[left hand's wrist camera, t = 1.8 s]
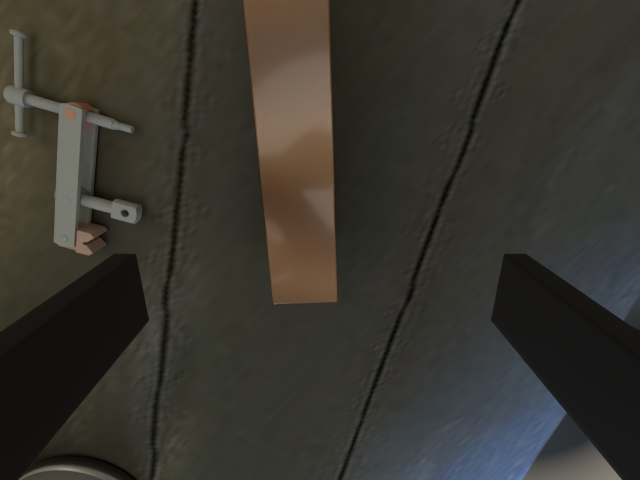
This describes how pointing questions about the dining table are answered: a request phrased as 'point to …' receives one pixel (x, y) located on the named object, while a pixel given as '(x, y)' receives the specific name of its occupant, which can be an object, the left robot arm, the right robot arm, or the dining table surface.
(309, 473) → the dining table surface
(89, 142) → the clamp
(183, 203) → the dining table surface
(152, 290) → the dining table surface
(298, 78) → the bar
